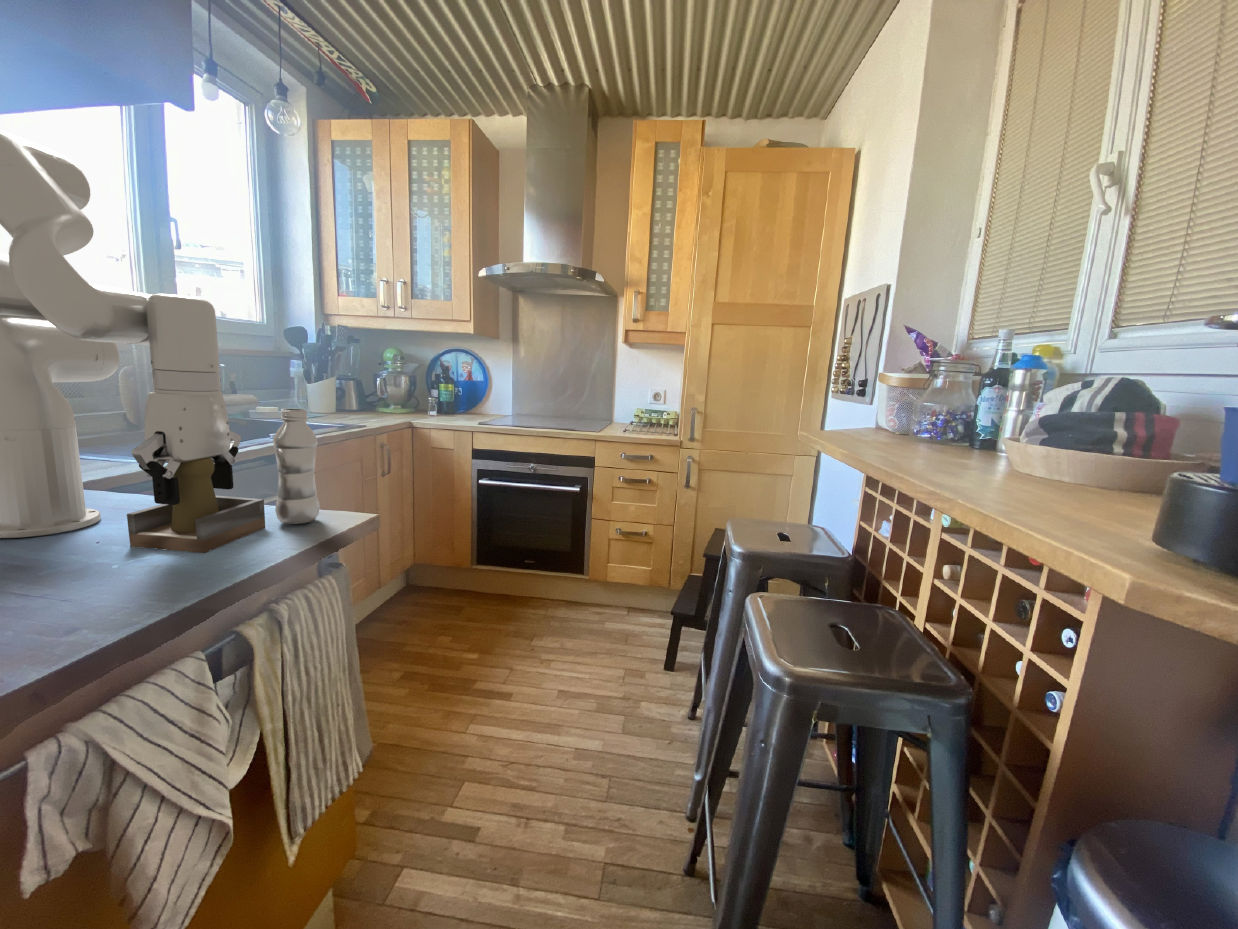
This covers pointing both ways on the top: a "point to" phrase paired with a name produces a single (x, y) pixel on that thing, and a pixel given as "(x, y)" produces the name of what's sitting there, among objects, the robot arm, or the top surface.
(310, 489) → the plastic bottle
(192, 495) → the cork
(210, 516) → the tray
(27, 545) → the top surface
